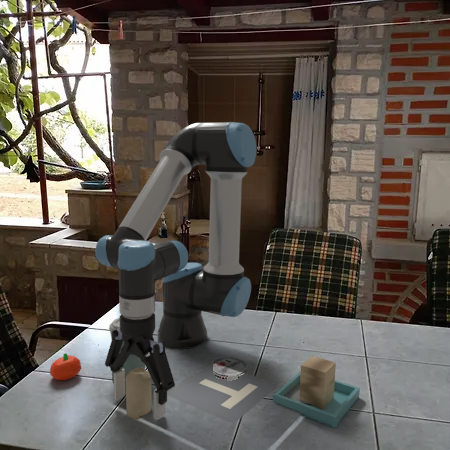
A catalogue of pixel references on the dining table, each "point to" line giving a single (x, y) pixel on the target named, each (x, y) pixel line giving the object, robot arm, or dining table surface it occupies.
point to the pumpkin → (65, 367)
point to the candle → (138, 393)
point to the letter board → (222, 393)
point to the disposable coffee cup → (132, 360)
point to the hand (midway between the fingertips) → (139, 406)
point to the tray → (332, 412)
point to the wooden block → (317, 382)
